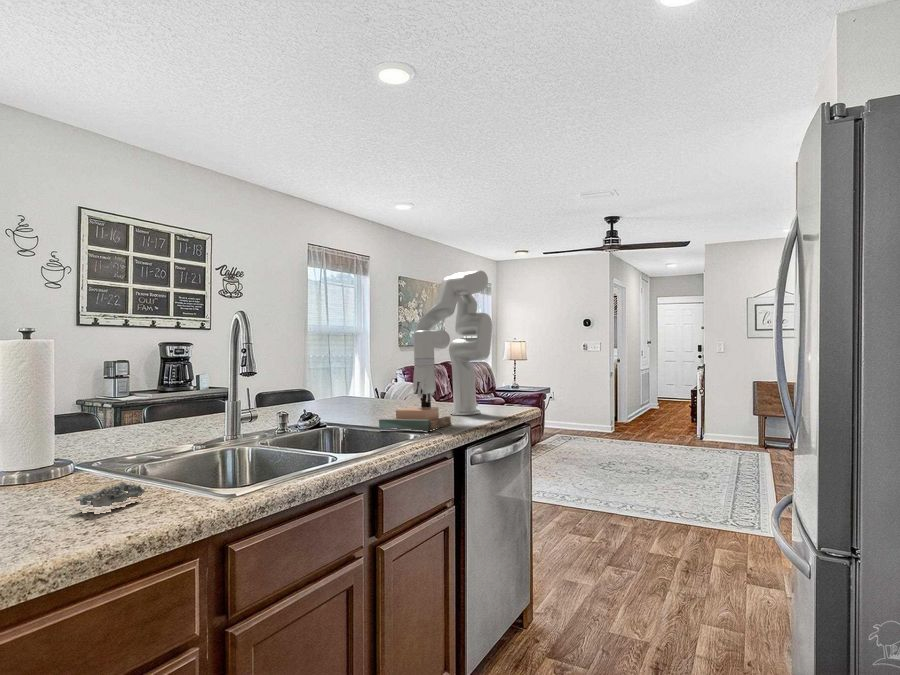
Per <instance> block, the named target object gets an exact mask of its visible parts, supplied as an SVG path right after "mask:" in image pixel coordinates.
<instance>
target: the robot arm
mask: <svg viewBox="0 0 900 675" xmlns="http://www.w3.org/2000/svg"><path fill="white" fill-rule="evenodd" d="M488 284H489V277H488V275H487V273H486V272H485V271H484V270H481V269H480V270H479V269H478V270H470V271H462V272H456V273H453V274H451V275H449V276H446V277H444V278H443V279H442V280H441V282H440V285H439V288H438V290H437V295H436V297H435V301H434V304H433V305H432V307H431V308H430V309H428V310H427V312H425V313H424V314H423V316H422V317H421V318H420V319H419V320H418V322H417V324H416V327H415V331H414V332H413V336H412V337H413V360H414V362H413V363H414V369H413V377H412V378H413V382H412V388H413V389H412V391H413V394H415V395H417V399H420V405H421V406H420V407H432V405H431V404H432V403H431V402H432V396H434V393H435V392H436V389H437V383H436V371H435V366H436V365H435V350H443V349H445V348H448V353H449V357H450V362H451V373H452V374H451V375H452V395H453V396H452V397H453V399H452V400H453V401H452V402H453V410H450V411H449V412H450V415H451V414H452V415H453V416H472V415H473V416H474V415H479V414H480V413H481V409H477V407H478V406H479V403H478V402H477V393H476V392H477V389H476V371H475V370H476V369H475V368H474V366H473V365H472V363H471V362H474V361H475V362H477V361H485V360H487V359H488V358H489V356H490V353H491V352H490V351H491V347H492V346H491V345H492V335H493V321H492V318H491V316H490V315H489V313H486V312H478V311H477V310H478V302H477V300H476V298H475V297H474V296H473V295H474V294H478V293H479V292H482V291H484V290H486V288H487V287H488ZM456 308H457V309H456ZM455 311H456V315H455V316H456V317H455V325H454V326H455V327H454V328H455V332H456V335H459V336H461V338H460V337H459V338H456V339H453V340H452V341H451V337H450V335H449V333H448V332H447V331H445V329H432V328H433V327H434V326H435V325H437V324H438V323H440V322H443V321H445V320H446V319H448V318H450V317H451V316H453V314H454V313H455Z"/></svg>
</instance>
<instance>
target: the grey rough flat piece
mask: <svg viewBox="0 0 900 675" xmlns="http://www.w3.org/2000/svg"><path fill="white" fill-rule="evenodd" d="M147 489H148V488H147V487H144V488H142V487H141V485H135V484H132V483H130V484H127V483H125V482H120V483H119V484H117V485H115V486H112V487H108V489H106V488H105V487H104V488H102V489H101V490H99V491H95V492H93V493H84V494H83V493H82V494H80V495H79V496H78V497H76V498H77V499H76V500H75V502H77V503H78V502H79V506H80V505H88V506H90V505H93V507H102V506H110V505H112V503H114V502H123V501H126V500H127V498H129V497H138V496H141V495H142V493H143V494H145V492H146V490H147ZM125 491H128V493H126V492H125ZM99 497H100V498H99ZM87 501H91V502H87Z"/></svg>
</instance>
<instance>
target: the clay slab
mask: <svg viewBox="0 0 900 675" xmlns="http://www.w3.org/2000/svg"><path fill="white" fill-rule="evenodd" d="M395 418H396V419H415V420H430V421H431V420H434V419H438V418H440V416H439V407H438V406H431V407H421V406H408V407H403V408H400V409H396V410H395Z"/></svg>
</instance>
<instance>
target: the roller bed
mask: <svg viewBox="0 0 900 675" xmlns="http://www.w3.org/2000/svg"><path fill="white" fill-rule="evenodd" d="M451 419H452V418H451V415H449V416H447V415H446V416H443V417H441V418H440V417H439V418H438V419H434V420H431V421H430V420H415V419H396V417H395V418H380V419H378V425H379V427H380V428H397V429H411V430H423V431H430V430H433V429H436V428H440V427H442V428H444V427H443V426H445V427H447V426H446V425H448V426H450V425H449V424H451V425H452V421H451ZM440 429H441V428H440Z"/></svg>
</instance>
